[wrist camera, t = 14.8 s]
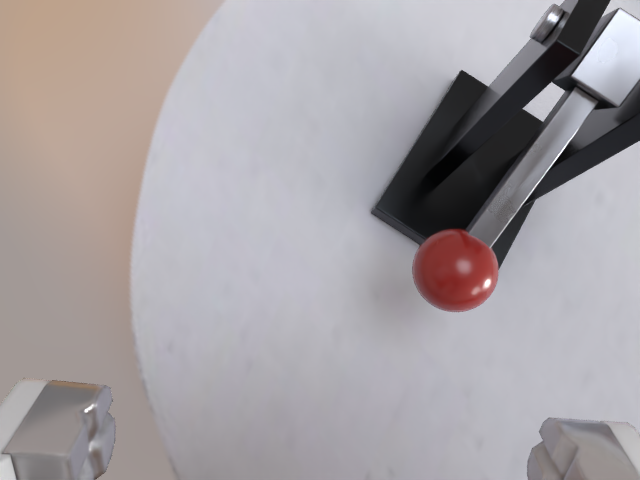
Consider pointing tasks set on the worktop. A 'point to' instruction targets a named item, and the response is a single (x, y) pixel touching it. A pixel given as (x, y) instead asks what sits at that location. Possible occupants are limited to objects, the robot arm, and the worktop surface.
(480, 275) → the lever
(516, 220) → the bracket
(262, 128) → the worktop surface
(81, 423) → the robot arm
